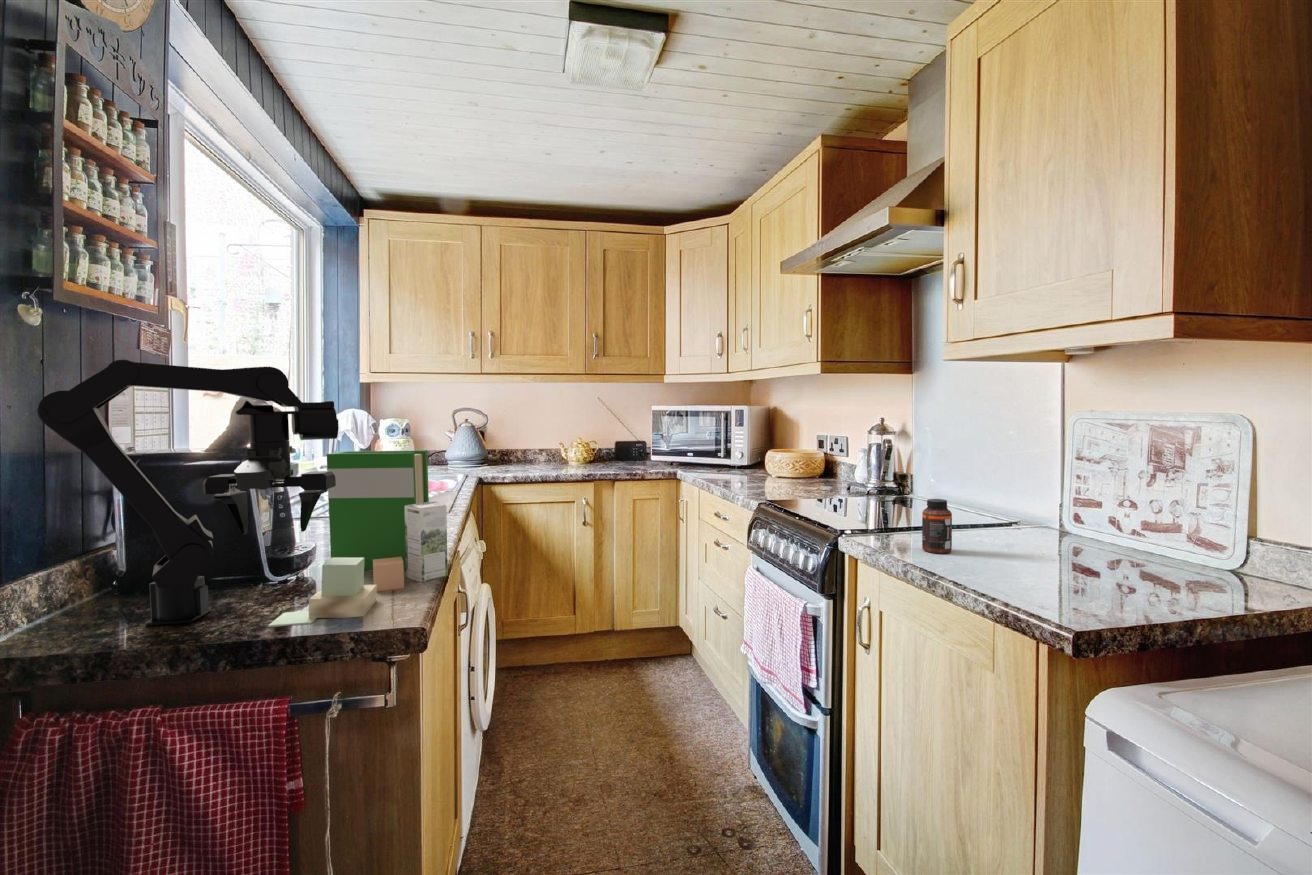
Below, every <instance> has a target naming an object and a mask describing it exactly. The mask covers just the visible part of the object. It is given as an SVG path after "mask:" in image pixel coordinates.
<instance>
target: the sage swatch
mask: <svg viewBox="0 0 1312 875" xmlns="http://www.w3.org/2000/svg"><path fill="white" fill-rule="evenodd" d="M317 619H318V618H309V610H306V611H305V610H304V611H303V610H302V611H287V612H283V613H282V614H280V615H278V617H277V618H275V619H274V620H273V621H272V622H270V623H269V624H268V628H271V627H272V628H273V627H274V628H275V627H286V626H299V625H301V626H302V625H303V626H304V625H311V624H313V623H314V622H315V621H316V620H317Z"/></svg>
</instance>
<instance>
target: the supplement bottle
mask: <svg viewBox="0 0 1312 875" xmlns="http://www.w3.org/2000/svg"><path fill="white" fill-rule="evenodd" d="M926 506H927V507H926V508H925V509H923V510H922V513H921V514H922V515H921V517H922V518H921V519H922V520H921V525H922V526H921V539H922V540H921V548H922V550H923V551H925V552H927V553H931V554H949V553H951V552H952V545H953V543H952V542H953V541H952V540H953V539H952V538H953V537H952V536H953V532H952V531H953V529H952V528H953V514H952V511H951V510H949V509H948V500H946V499H941V498H929V499H927V500H926Z"/></svg>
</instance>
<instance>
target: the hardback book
mask: <svg viewBox="0 0 1312 875" xmlns="http://www.w3.org/2000/svg"><path fill="white" fill-rule="evenodd" d="M428 468H429V466H428V450H359V451H357V450H355V451H354V450H353V451H350V450H348V451H339V452H332V453H326V469H327V470H326V471H332V472H333V473H334V475H335V479H336V486H334V487H332V488H329V489H328V491H327V493H328V495H327V496H328V497H327V498H328V519H329V542H330V543H329V546H330V548H329V549H330V559H331V558H332V557H346V558H364V570H373V560H375V559H384V558H393V557H402V560H403V569H404V570H406V548H405V505H412V504H419V503H426V502H430V501H429V500H430V498H429V496H430V495H429V494H430V493H429V469H428Z"/></svg>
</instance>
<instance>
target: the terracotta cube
mask: <svg viewBox="0 0 1312 875" xmlns="http://www.w3.org/2000/svg"><path fill="white" fill-rule="evenodd" d="M404 572H405V571H404V569H403V560H402V557H393V558H384V559H375V560H373V571H372V577H373V578H372V580H373V581H372V582H373V585H377V592H382V591H390V590H391V591H393V590H399V589H404V588H405V576H404V575H405V574H404Z"/></svg>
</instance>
